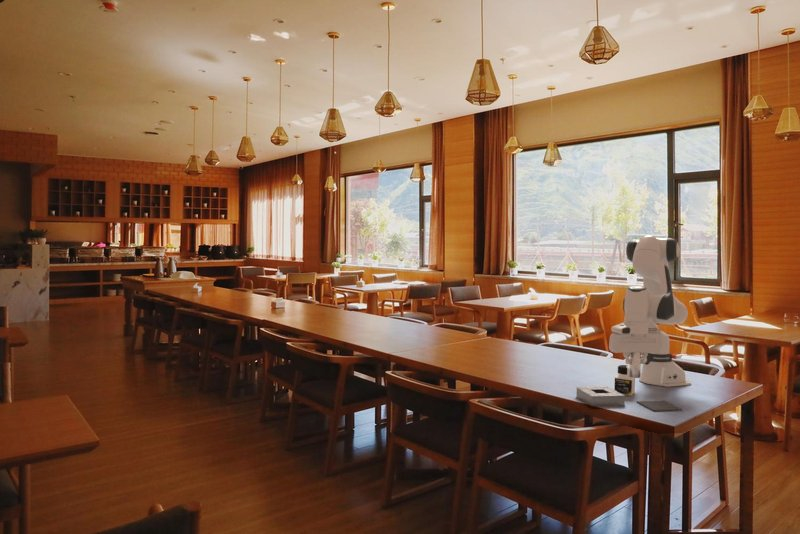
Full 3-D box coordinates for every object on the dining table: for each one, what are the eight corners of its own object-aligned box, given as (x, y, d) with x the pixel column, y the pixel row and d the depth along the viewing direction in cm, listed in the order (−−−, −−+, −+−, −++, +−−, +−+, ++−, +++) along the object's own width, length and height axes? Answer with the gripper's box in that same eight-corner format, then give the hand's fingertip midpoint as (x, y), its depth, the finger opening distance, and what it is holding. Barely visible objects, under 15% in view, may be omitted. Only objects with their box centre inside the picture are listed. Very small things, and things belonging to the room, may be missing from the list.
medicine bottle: (614, 393, 242) (614, 366, 242) (617, 389, 248) (618, 363, 248) (631, 396, 238) (632, 368, 238) (634, 392, 244) (635, 365, 244)
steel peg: (636, 375, 217) (637, 350, 217) (642, 377, 213) (643, 352, 213) (627, 375, 217) (627, 350, 216) (632, 378, 213) (633, 352, 212)
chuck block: (607, 395, 238) (607, 386, 238) (624, 405, 224) (624, 395, 224) (576, 396, 236) (576, 387, 236) (591, 406, 223) (592, 396, 222)
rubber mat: (664, 401, 230) (664, 400, 230) (682, 410, 218) (682, 409, 218) (636, 402, 228) (636, 401, 228) (653, 411, 216) (653, 409, 216)
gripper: (656, 326, 219) (655, 361, 219) (607, 327, 216) (606, 362, 217) (665, 329, 212) (664, 364, 213) (615, 329, 210) (614, 365, 210)
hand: (635, 363), depth 215 cm, fingers closed on steel peg, 4 cm apart
